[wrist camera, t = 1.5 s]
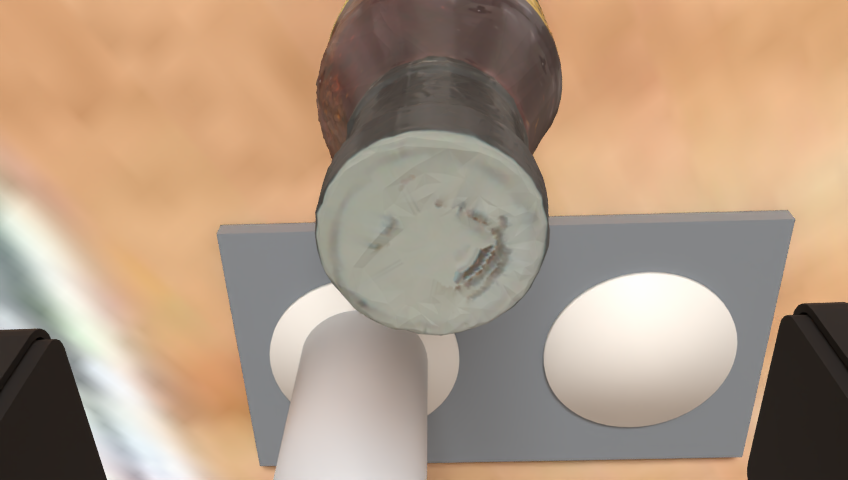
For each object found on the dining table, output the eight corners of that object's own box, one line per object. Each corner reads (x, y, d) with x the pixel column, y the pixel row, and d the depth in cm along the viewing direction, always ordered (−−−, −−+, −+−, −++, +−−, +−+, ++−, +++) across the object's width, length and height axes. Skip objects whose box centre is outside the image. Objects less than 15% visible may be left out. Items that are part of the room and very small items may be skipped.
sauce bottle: (549, 26, 32) (689, 335, 15) (408, 97, 33) (383, 453, 16) (476, -137, 29) (541, 6, 12) (325, -51, 30) (185, 188, 13)
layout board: (788, 210, 36) (953, 417, 24) (737, 445, 43) (847, 691, 31) (220, 225, 36) (124, 433, 25) (262, 455, 43) (203, 699, 32)
